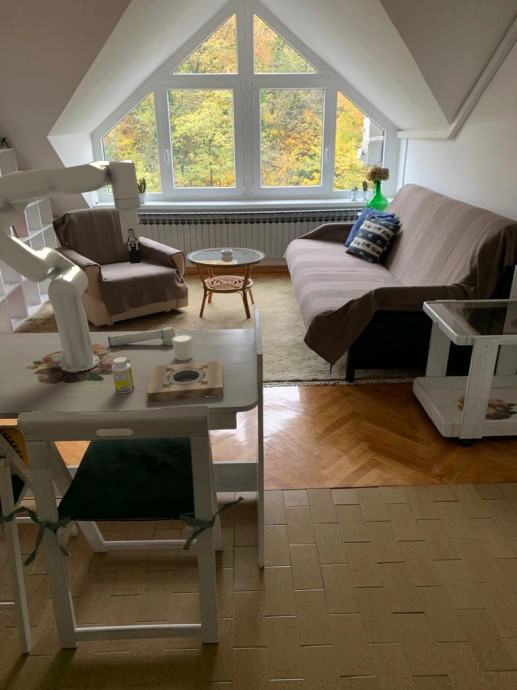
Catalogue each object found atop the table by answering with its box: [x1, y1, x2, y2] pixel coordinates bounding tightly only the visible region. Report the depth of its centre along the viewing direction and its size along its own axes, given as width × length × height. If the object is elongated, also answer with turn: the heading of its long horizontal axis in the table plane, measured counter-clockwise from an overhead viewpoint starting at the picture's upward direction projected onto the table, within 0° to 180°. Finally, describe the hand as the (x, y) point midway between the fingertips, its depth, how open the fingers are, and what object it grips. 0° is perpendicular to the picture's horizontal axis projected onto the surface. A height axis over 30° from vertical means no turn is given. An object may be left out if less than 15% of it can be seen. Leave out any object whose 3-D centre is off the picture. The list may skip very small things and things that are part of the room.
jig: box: [146, 360, 224, 403], centre depth 168 cm, size 22×18×3 cm
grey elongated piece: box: [107, 326, 179, 347], centre depth 199 cm, size 5×7×25 cm
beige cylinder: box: [172, 333, 193, 361], centre depth 187 cm, size 7×7×7 cm
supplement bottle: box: [111, 356, 135, 394], centre depth 166 cm, size 6×6×10 cm
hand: (135, 259), depth 172 cm, fingers open, 9 cm apart
